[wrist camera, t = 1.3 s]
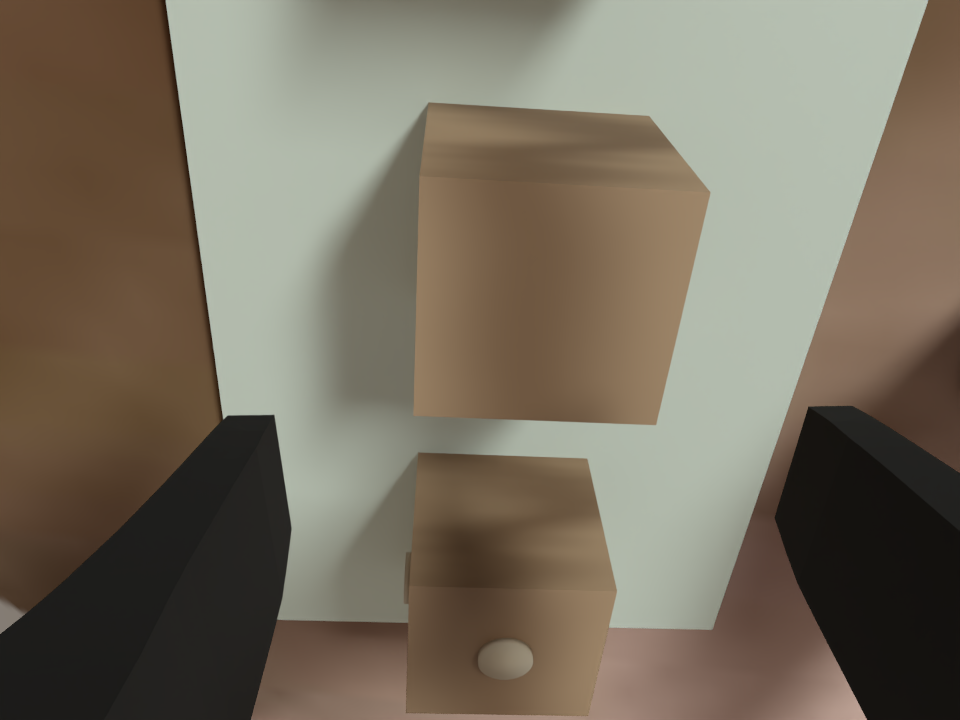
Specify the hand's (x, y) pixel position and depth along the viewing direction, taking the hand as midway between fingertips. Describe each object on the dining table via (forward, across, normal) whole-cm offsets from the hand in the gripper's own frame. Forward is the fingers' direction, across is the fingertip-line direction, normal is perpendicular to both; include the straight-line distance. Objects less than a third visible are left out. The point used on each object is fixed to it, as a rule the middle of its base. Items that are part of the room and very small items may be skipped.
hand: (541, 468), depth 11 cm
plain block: (+10, -1, 0) cm, 10 cm away
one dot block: (+10, 0, +10) cm, 14 cm away
